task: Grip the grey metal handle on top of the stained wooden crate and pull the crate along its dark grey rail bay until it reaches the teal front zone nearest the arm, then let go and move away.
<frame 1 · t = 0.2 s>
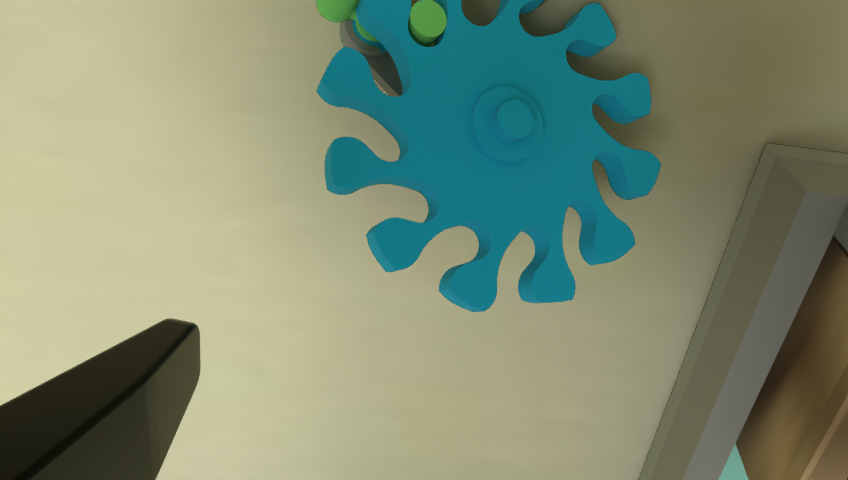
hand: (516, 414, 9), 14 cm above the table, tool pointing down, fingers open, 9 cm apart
gear: (489, 76, 22), on the table
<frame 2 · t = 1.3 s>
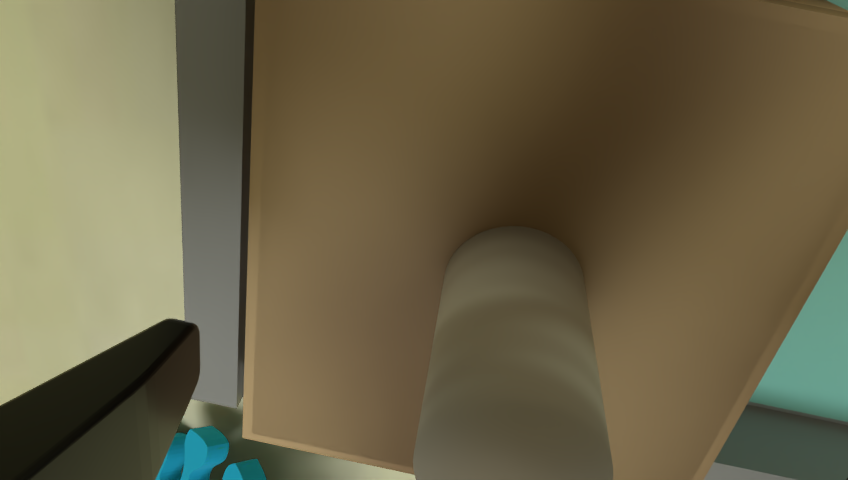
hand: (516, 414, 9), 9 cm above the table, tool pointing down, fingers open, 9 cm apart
crate: (513, 271, 12), point 6 cm above the table, slide at 0.0 cm
bay: (650, 175, 17), on the table
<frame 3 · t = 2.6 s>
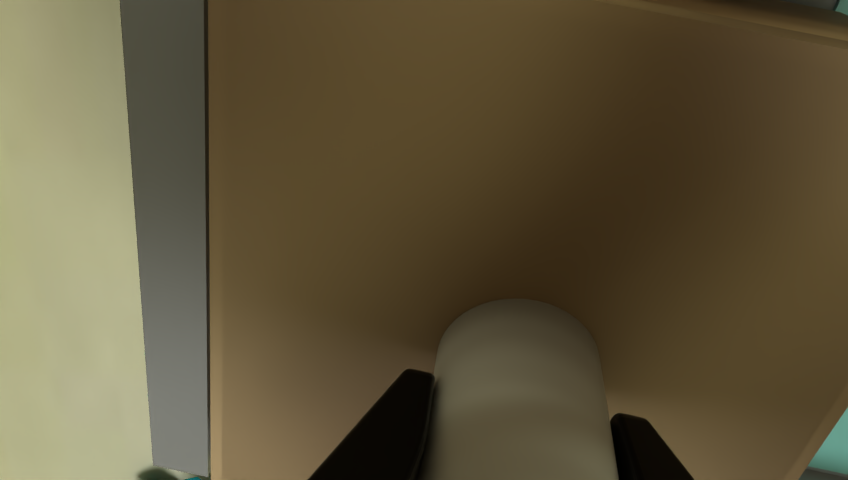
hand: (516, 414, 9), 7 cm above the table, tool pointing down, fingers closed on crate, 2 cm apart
crate: (517, 343, 10), point 6 cm above the table, slide at 0.0 cm, touching gripper
bay: (668, 214, 15), on the table
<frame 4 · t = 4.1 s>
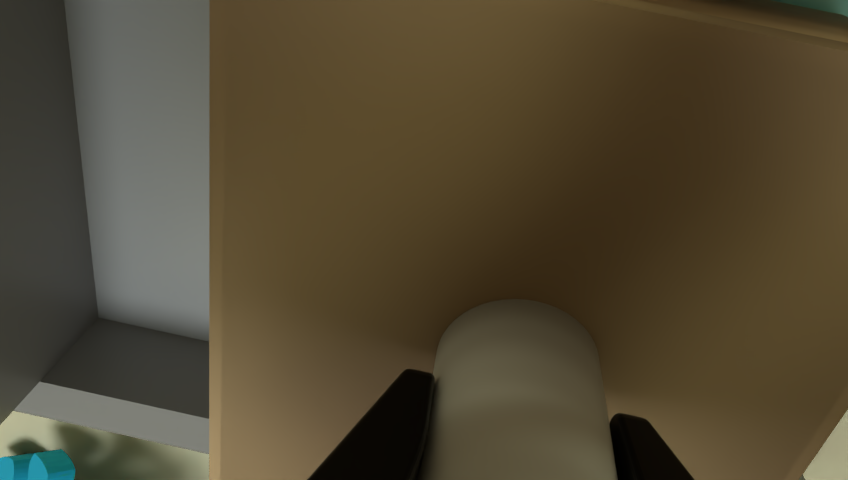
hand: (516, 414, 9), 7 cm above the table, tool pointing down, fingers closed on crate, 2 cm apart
crate: (516, 344, 10), point 6 cm above the table, slide at 4.7 cm, touching gripper
bay: (469, 174, 15), on the table
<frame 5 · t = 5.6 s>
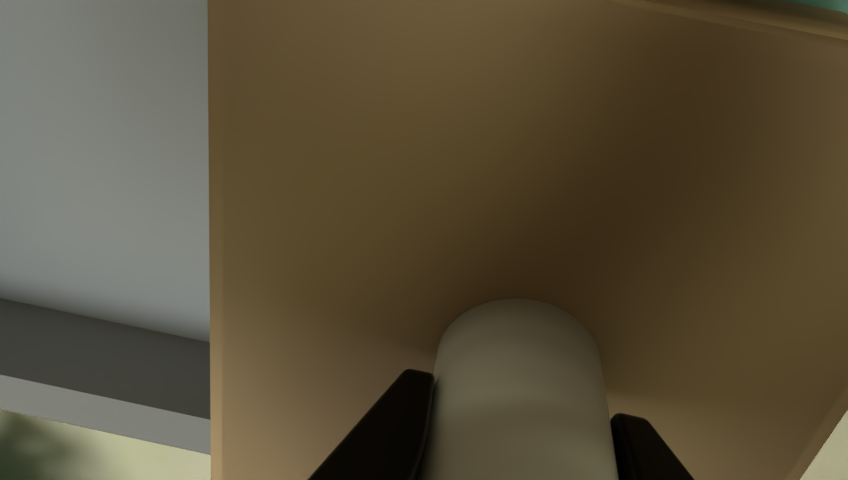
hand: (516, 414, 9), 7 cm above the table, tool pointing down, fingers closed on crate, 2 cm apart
crate: (517, 343, 10), point 6 cm above the table, slide at 8.6 cm, touching gripper
bay: (300, 140, 15), on the table
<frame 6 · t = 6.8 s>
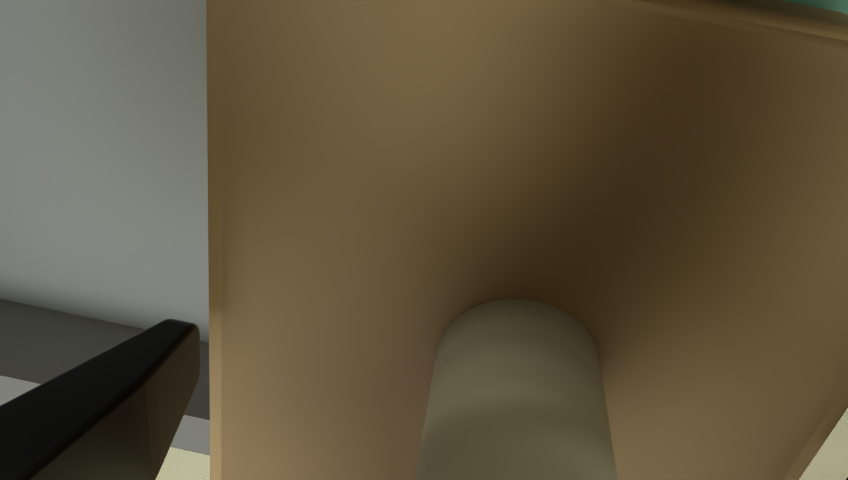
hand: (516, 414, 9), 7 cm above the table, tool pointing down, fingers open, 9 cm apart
crate: (516, 344, 10), point 6 cm above the table, slide at 8.6 cm
bay: (299, 140, 15), on the table
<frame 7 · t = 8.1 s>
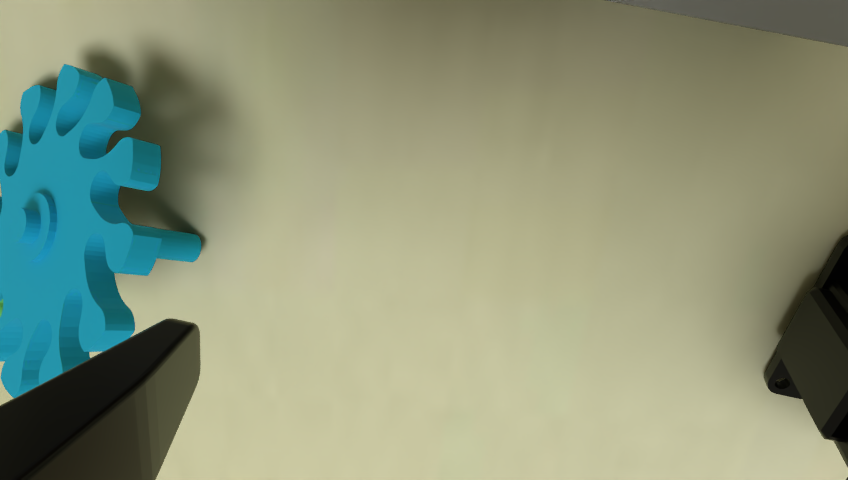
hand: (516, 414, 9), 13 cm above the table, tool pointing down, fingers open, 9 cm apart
gear: (114, 183, 24), on the table
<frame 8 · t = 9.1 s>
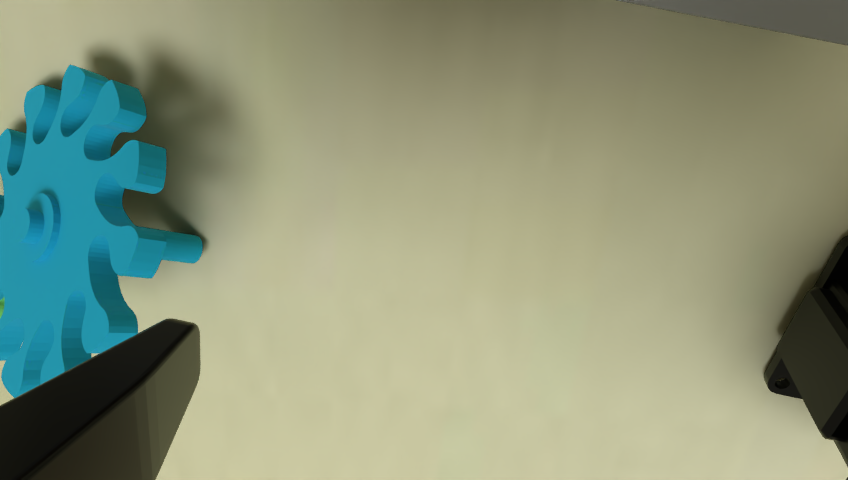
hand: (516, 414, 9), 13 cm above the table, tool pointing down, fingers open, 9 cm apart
gear: (116, 184, 24), on the table
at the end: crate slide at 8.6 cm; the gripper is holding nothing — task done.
